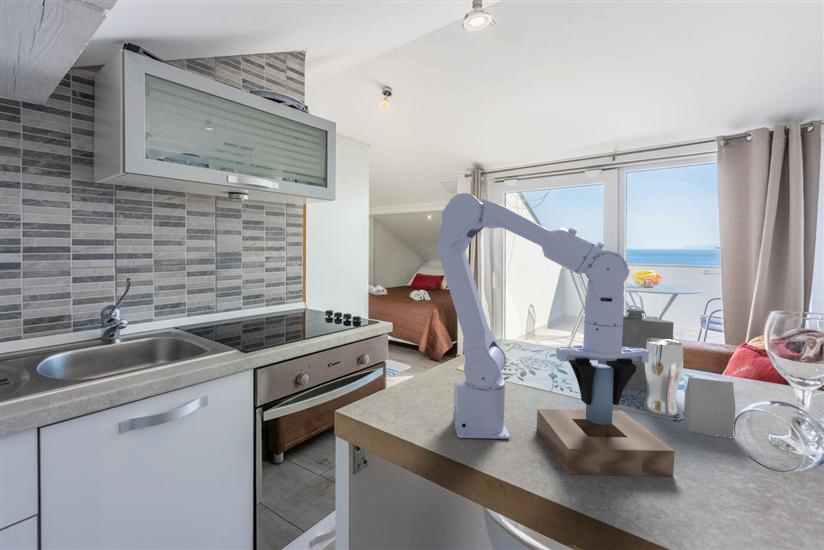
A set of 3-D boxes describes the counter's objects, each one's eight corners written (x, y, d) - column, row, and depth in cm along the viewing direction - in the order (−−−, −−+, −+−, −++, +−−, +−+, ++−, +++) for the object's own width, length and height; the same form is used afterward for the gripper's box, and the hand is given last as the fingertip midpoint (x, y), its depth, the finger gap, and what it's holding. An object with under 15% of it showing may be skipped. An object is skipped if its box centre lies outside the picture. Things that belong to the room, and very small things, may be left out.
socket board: (567, 474, 56) (568, 448, 55) (536, 429, 70) (537, 409, 69) (673, 476, 55) (674, 450, 55) (621, 431, 69) (622, 410, 69)
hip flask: (669, 391, 90) (674, 311, 89) (669, 396, 87) (674, 313, 86) (597, 378, 99) (601, 305, 98) (595, 382, 96) (599, 306, 95)
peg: (592, 424, 60) (594, 370, 60) (581, 414, 64) (583, 363, 64) (617, 424, 60) (618, 370, 60) (604, 414, 64) (605, 363, 64)
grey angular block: (733, 438, 67) (737, 385, 67) (688, 431, 70) (691, 380, 69) (725, 430, 71) (729, 379, 70) (683, 423, 73) (686, 374, 73)
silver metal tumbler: (662, 418, 75) (666, 346, 74) (633, 405, 82) (637, 338, 81) (688, 415, 77) (692, 344, 76) (658, 402, 84) (661, 337, 83)
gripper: (632, 319, 65) (628, 394, 66) (550, 318, 65) (548, 392, 66) (658, 327, 58) (654, 410, 59) (567, 326, 58) (564, 409, 59)
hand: (599, 402), depth 62 cm, fingers closed on peg, 4 cm apart
